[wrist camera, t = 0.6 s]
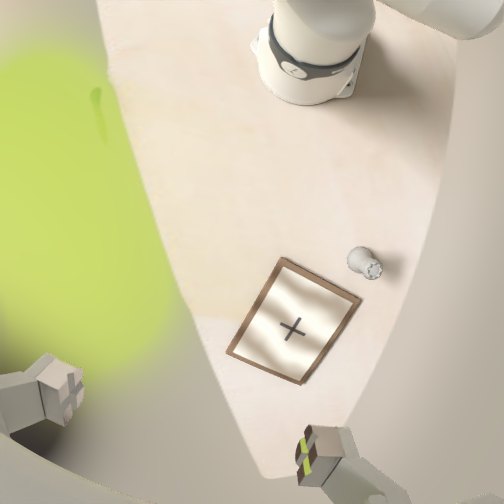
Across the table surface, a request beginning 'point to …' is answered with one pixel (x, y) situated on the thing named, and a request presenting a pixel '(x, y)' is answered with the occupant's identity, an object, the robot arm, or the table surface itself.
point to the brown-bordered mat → (292, 323)
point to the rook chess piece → (364, 263)
